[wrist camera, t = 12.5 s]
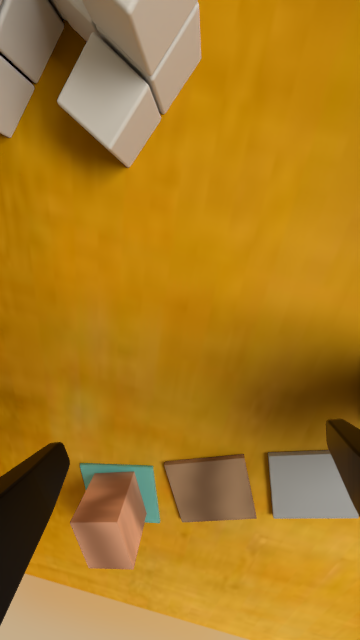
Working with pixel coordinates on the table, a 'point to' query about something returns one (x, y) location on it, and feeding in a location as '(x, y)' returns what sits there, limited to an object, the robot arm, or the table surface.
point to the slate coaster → (308, 486)
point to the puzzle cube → (102, 63)
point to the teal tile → (143, 479)
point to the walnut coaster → (211, 488)
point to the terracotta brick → (110, 521)
